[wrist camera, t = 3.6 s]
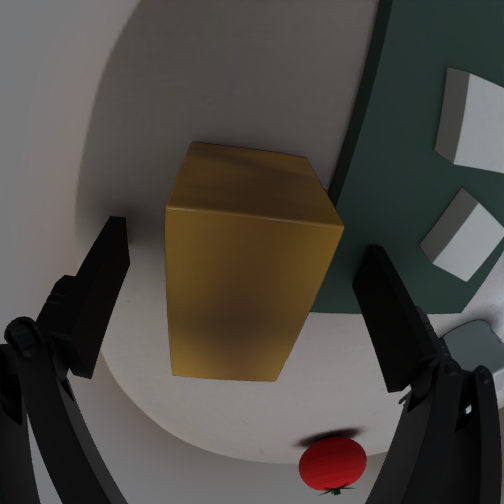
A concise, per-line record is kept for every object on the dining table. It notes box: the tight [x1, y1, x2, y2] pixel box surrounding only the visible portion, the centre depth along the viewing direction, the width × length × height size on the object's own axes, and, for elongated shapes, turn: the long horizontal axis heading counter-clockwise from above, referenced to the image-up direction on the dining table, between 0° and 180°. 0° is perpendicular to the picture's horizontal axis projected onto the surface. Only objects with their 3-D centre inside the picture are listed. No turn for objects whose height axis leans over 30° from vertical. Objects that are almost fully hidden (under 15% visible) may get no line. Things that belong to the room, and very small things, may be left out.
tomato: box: [299, 437, 367, 495], centre depth 35 cm, size 10×10×10 cm
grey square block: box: [435, 67, 504, 173], centre depth 9 cm, size 4×4×2 cm
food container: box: [439, 320, 504, 414], centre depth 22 cm, size 12×12×6 cm
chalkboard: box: [309, 0, 504, 314], centre depth 12 cm, size 22×14×1 cm, turn 170°
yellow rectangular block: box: [165, 143, 344, 382], centre depth 13 cm, size 5×9×6 cm, turn 170°
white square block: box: [420, 188, 504, 282], centre depth 13 cm, size 4×4×2 cm
